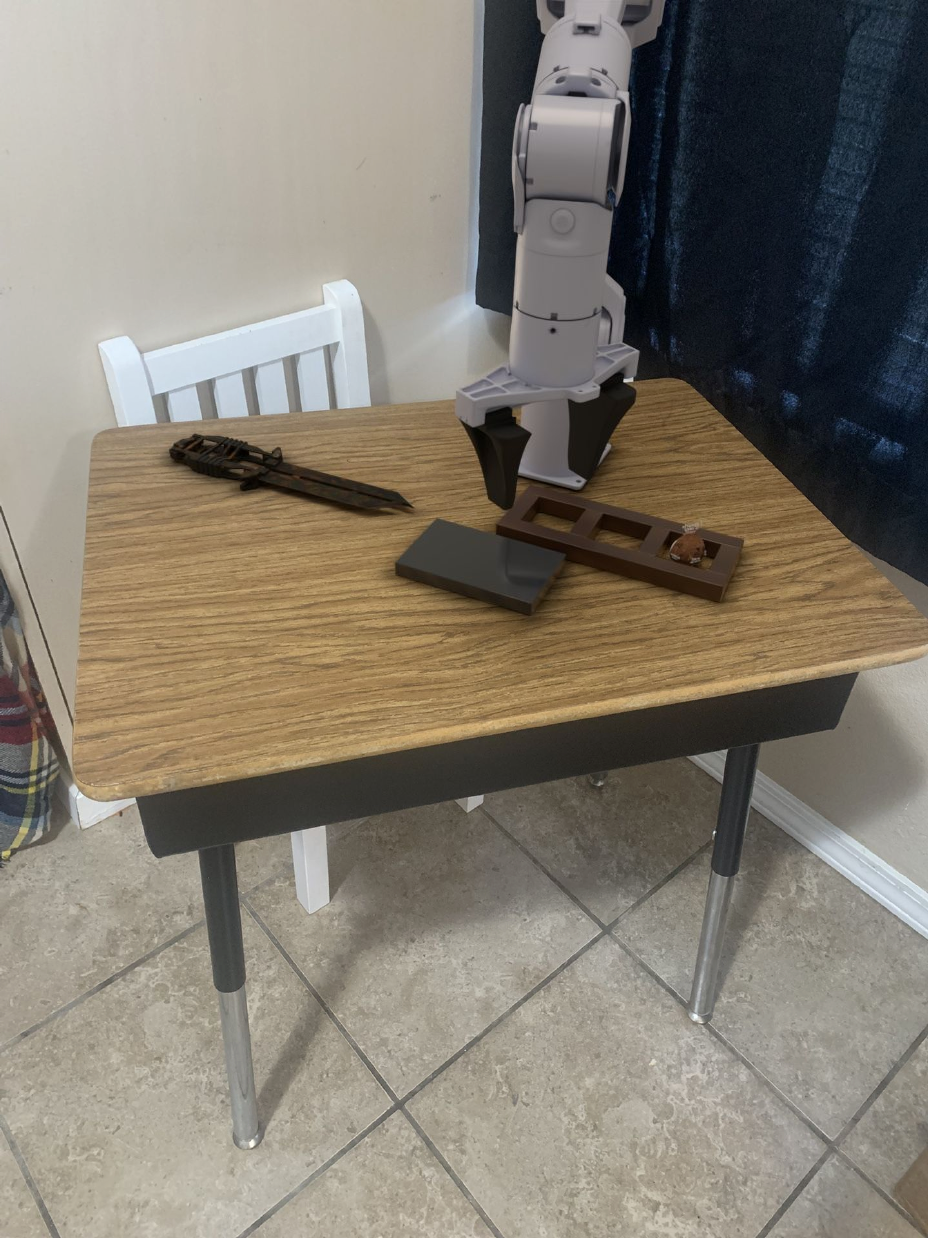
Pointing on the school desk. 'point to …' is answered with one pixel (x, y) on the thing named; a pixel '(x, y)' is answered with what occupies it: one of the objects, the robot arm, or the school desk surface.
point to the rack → (615, 558)
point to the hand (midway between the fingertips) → (541, 488)
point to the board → (481, 565)
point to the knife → (274, 464)
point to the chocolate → (688, 547)
